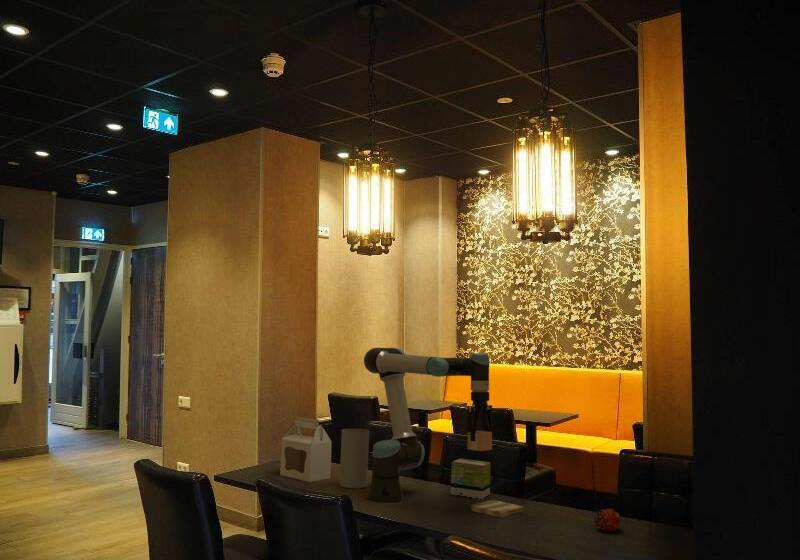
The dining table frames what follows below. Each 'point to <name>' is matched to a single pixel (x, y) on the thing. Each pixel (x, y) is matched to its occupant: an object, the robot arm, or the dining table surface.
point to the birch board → (497, 508)
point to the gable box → (298, 445)
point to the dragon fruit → (607, 520)
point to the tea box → (470, 478)
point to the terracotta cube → (482, 440)
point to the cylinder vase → (354, 458)
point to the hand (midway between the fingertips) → (480, 448)
